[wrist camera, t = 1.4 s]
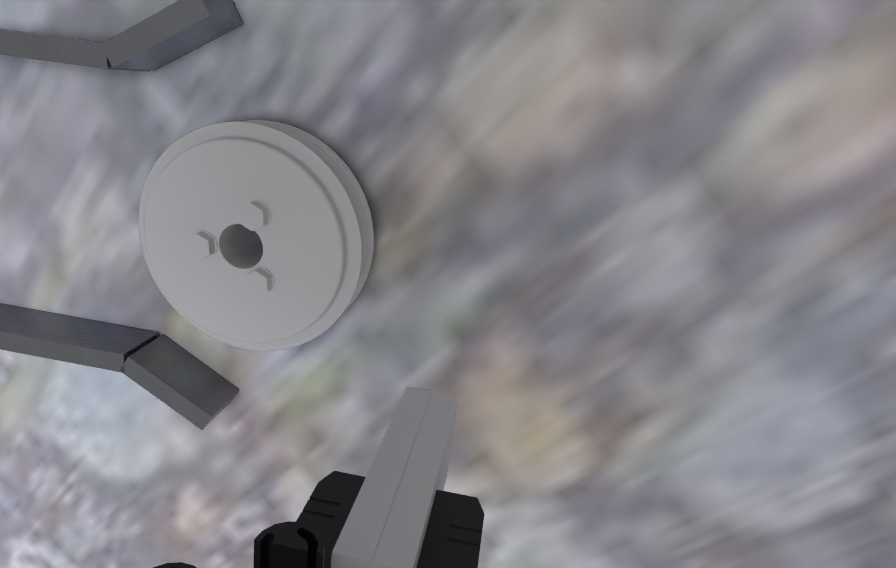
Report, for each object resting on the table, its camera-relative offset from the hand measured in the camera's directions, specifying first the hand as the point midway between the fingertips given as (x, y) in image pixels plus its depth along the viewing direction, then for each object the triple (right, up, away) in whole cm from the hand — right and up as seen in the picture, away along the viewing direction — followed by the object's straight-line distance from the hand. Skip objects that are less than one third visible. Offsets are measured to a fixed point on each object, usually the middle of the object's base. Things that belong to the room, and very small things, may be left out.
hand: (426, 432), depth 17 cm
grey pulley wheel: (-10, +8, +18) cm, 22 cm away
